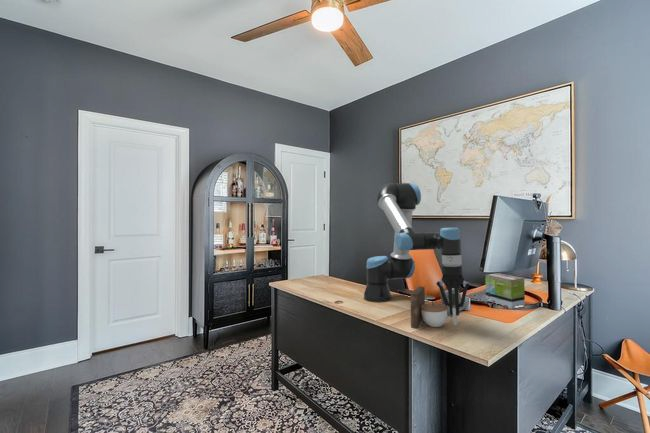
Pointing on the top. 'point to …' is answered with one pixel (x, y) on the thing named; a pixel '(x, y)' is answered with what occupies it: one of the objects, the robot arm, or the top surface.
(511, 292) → the tea box
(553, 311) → the top surface
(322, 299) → the top surface
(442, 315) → the lidded jar
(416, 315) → the walnut board
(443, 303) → the digital clock
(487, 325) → the top surface
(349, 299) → the top surface
